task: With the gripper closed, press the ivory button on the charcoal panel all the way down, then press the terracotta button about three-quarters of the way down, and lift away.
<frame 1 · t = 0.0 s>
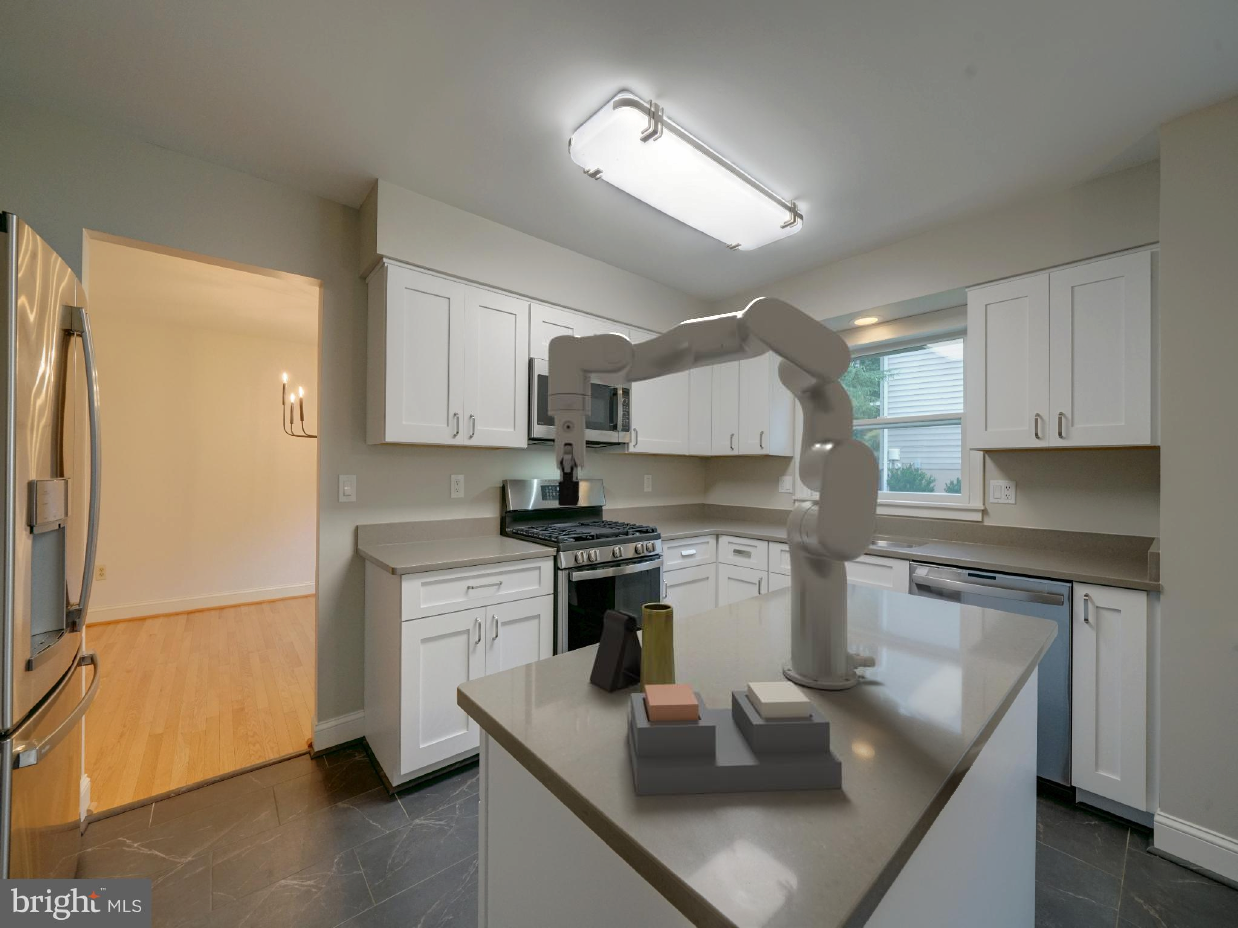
hand: (569, 503, 90), 31 cm above the counter, tool pointing down, fingers open, 9 cm apart
terracotta button: (670, 705, 65), point 7 cm above the counter, slide at 0.0 cm
vase: (657, 693, 85), on the counter
phone stand: (620, 682, 90), on the counter
ivory button: (777, 703, 66), point 7 cm above the counter, slide at 0.0 cm
button panel: (724, 757, 66), on the counter
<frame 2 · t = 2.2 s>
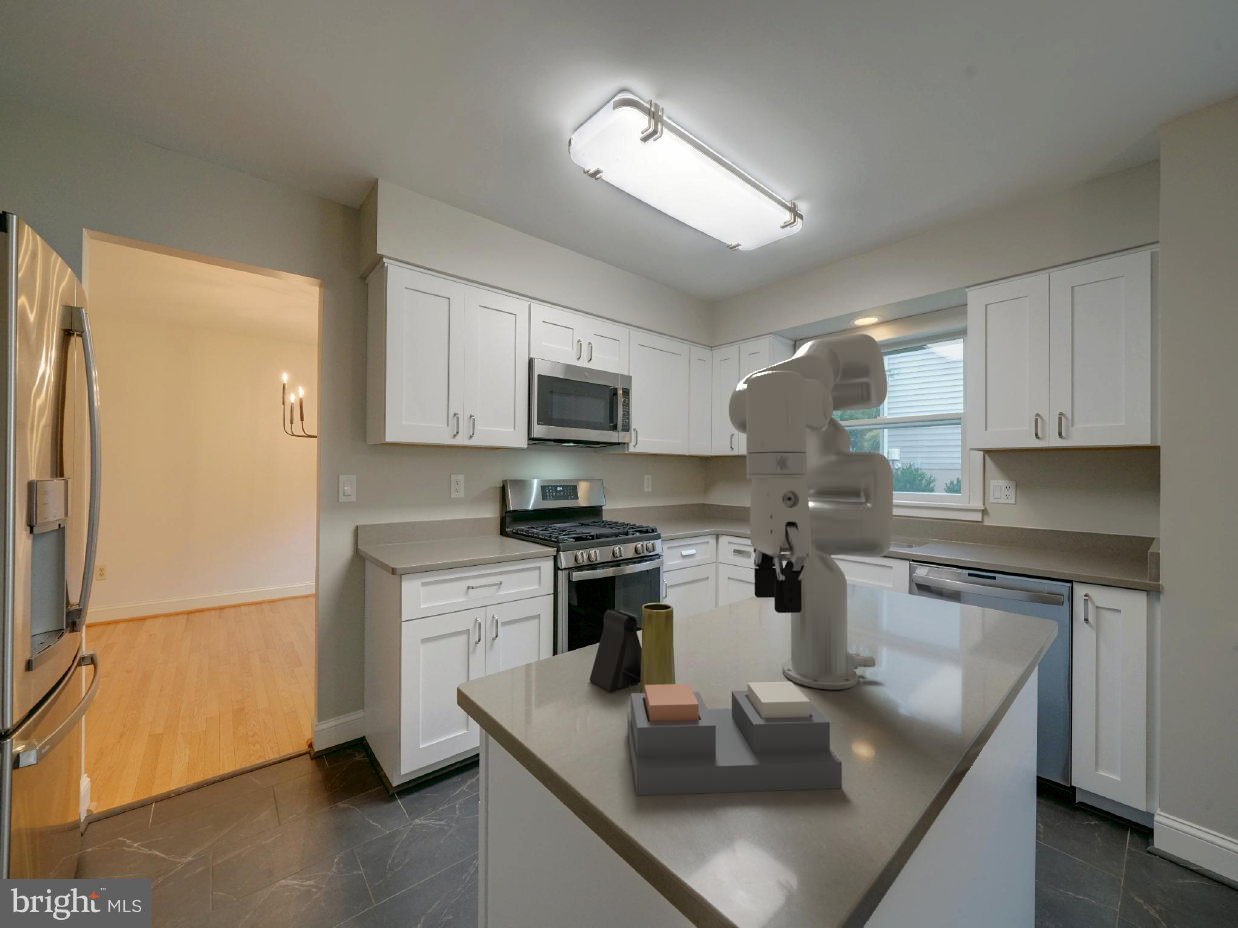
hand: (776, 603, 66), 20 cm above the counter, tool pointing down, fingers open, 6 cm apart
nothing on the counter moved.
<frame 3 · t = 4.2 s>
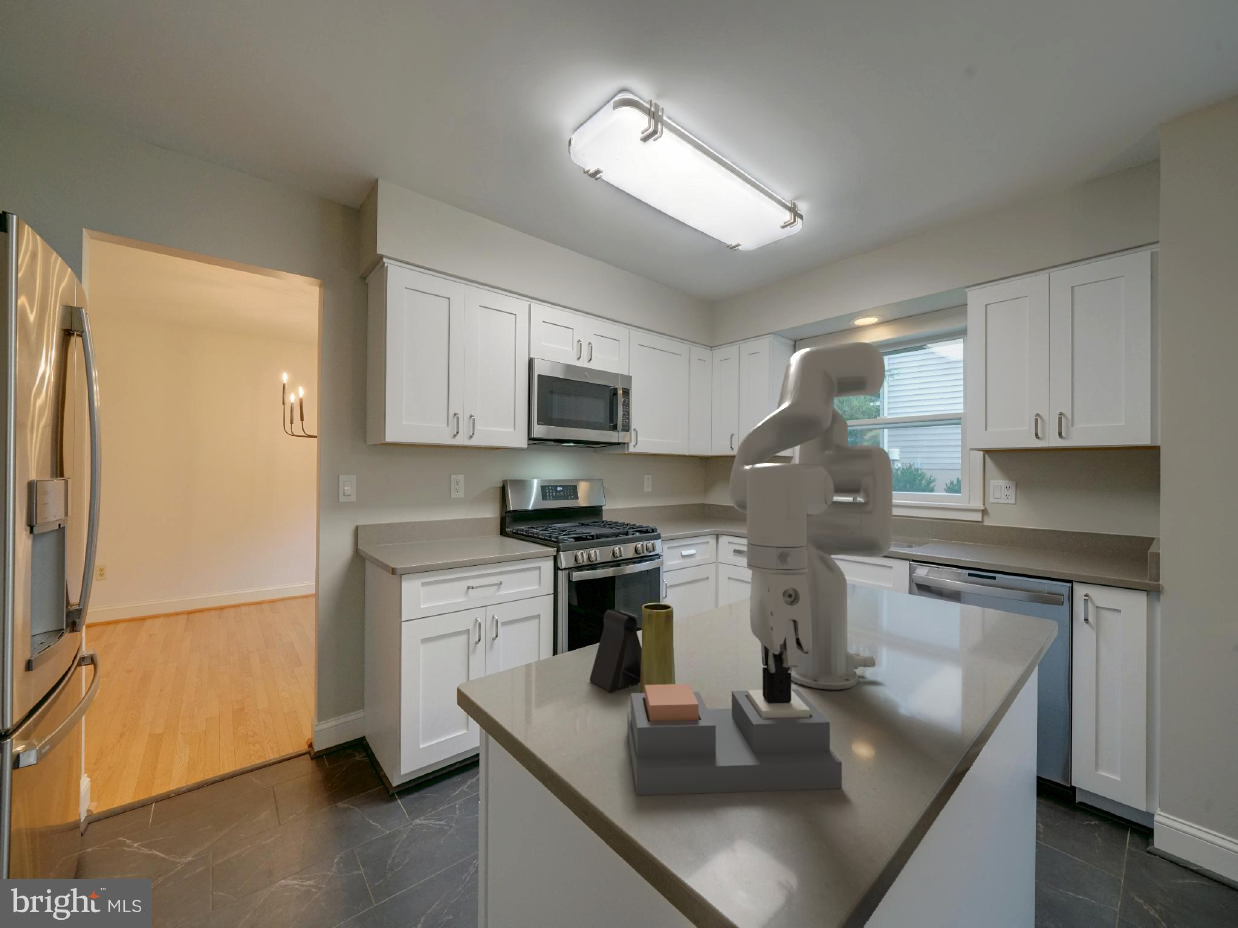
hand: (776, 700, 66), 7 cm above the counter, tool pointing down, fingers closed
ivory button: (777, 711, 66), point 6 cm above the counter, slide at 1.1 cm, touching gripper
everything else where it was.
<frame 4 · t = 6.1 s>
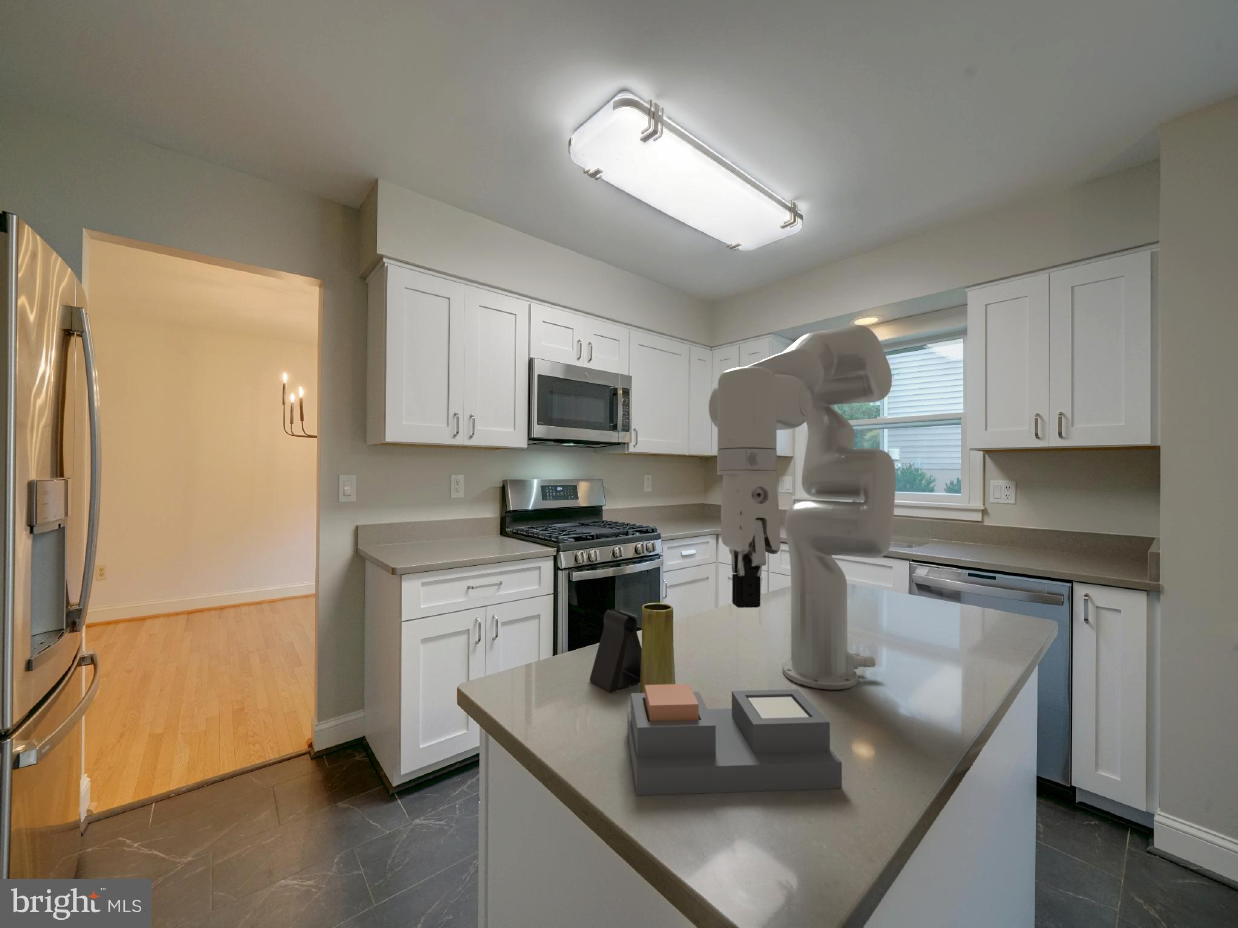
hand: (746, 605, 66), 20 cm above the counter, tool pointing down, fingers closed
ivory button: (777, 718, 66), point 5 cm above the counter, slide at 2.1 cm
everything else where it was.
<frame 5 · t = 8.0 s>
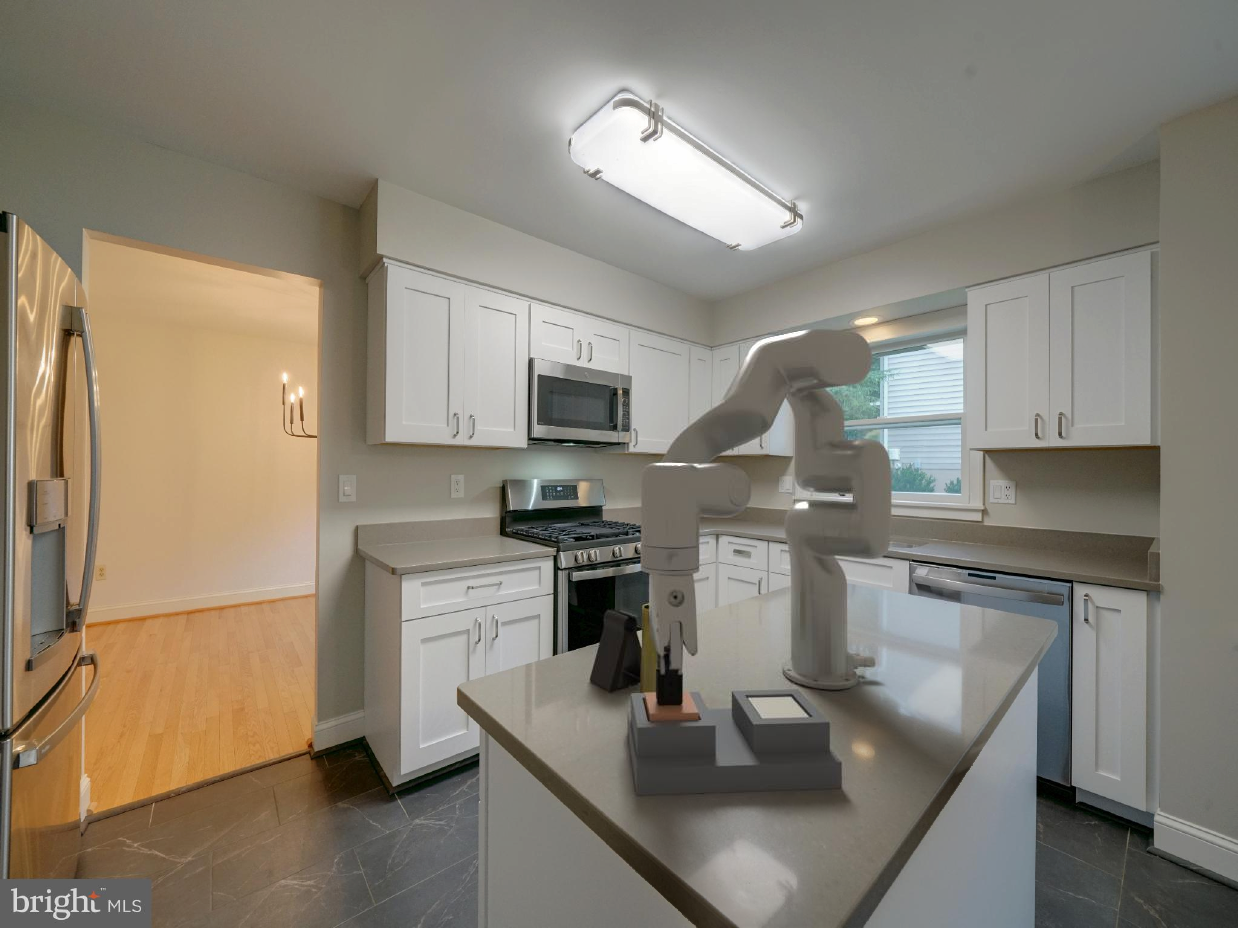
hand: (669, 702, 65), 7 cm above the counter, tool pointing down, fingers closed
terracotta button: (670, 713, 65), point 6 cm above the counter, slide at 1.0 cm
everything else where it was.
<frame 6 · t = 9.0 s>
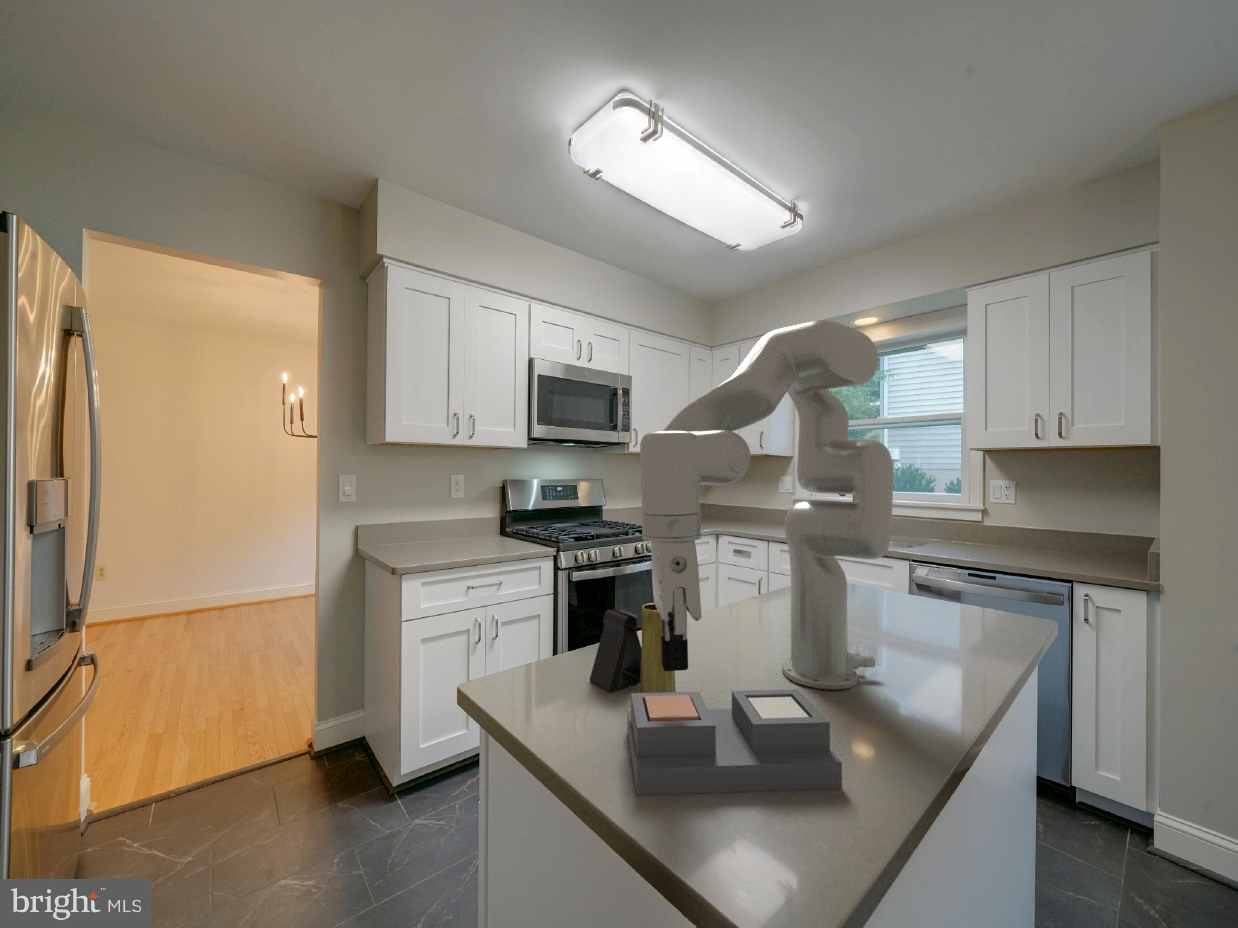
hand: (674, 667, 66), 11 cm above the counter, tool pointing down, fingers closed
terracotta button: (670, 717, 65), point 5 cm above the counter, slide at 1.5 cm
everything else where it was.
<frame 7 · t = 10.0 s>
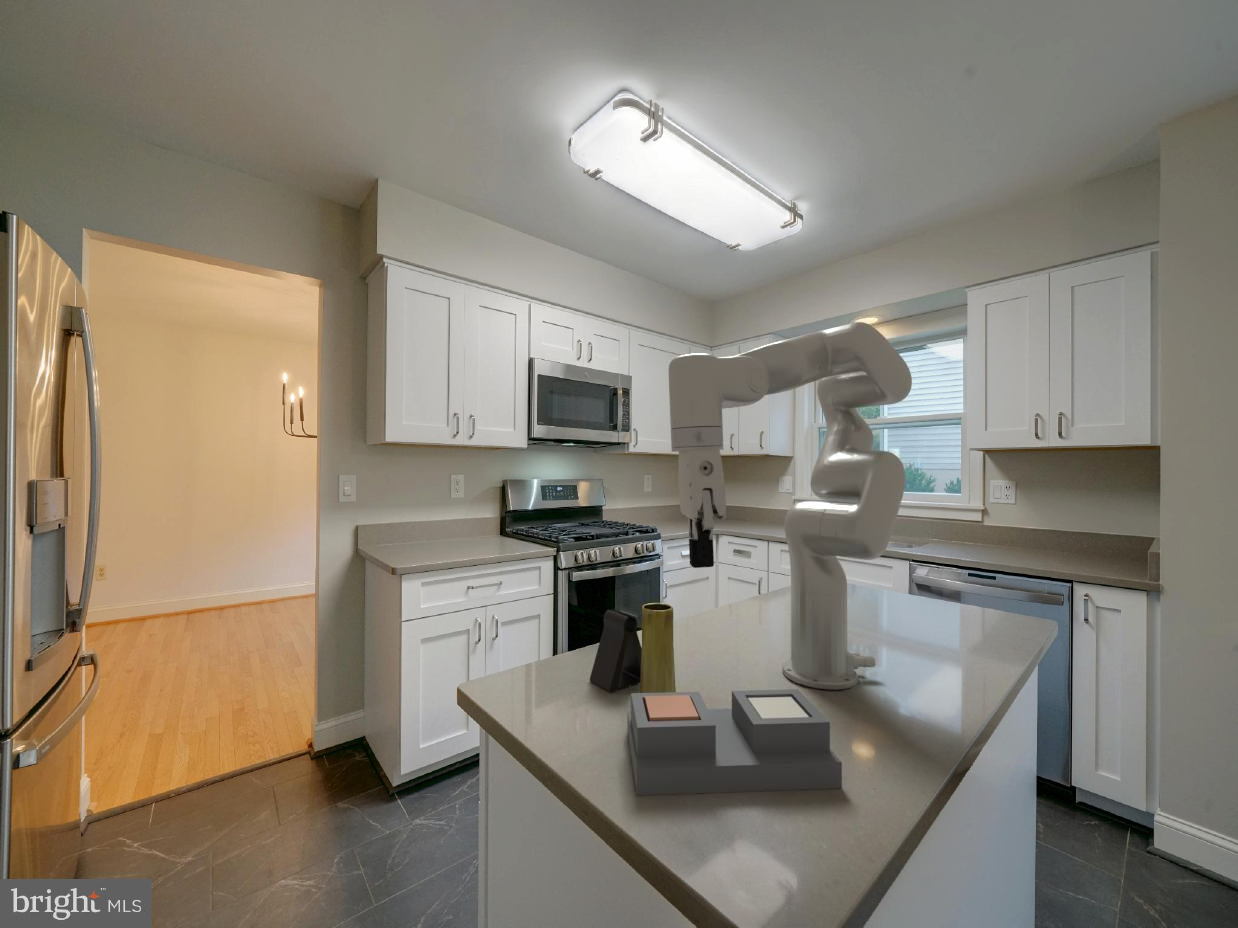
hand: (701, 565, 75), 23 cm above the counter, tool pointing down, fingers closed
nothing on the counter moved.
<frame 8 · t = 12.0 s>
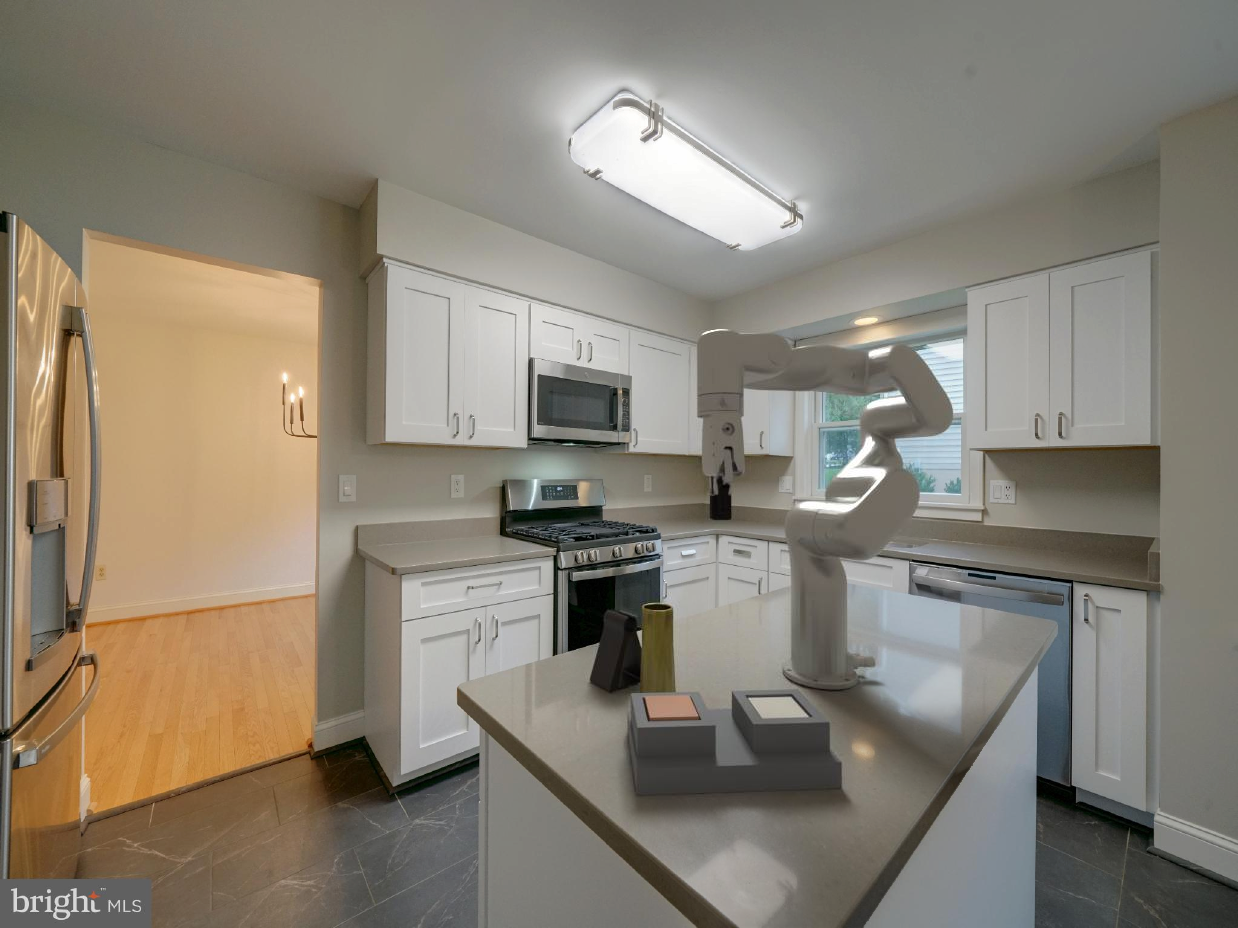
hand: (720, 519, 83), 29 cm above the counter, tool pointing down, fingers closed
nothing on the counter moved.
at the end: ivory button slide at 2.1 cm; terracotta button slide at 1.5 cm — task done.
